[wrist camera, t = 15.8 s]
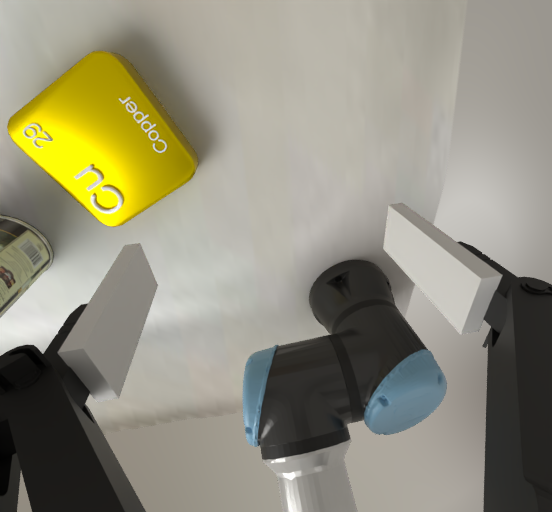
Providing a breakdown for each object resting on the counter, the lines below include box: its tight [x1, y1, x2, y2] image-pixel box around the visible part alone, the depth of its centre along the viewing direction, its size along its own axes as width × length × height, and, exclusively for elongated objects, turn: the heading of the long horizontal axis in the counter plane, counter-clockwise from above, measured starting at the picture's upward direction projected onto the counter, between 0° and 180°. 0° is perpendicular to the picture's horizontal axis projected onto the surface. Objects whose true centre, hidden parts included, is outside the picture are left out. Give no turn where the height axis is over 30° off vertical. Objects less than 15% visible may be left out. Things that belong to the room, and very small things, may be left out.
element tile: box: [7, 51, 198, 227], centre depth 34 cm, size 15×15×5 cm
